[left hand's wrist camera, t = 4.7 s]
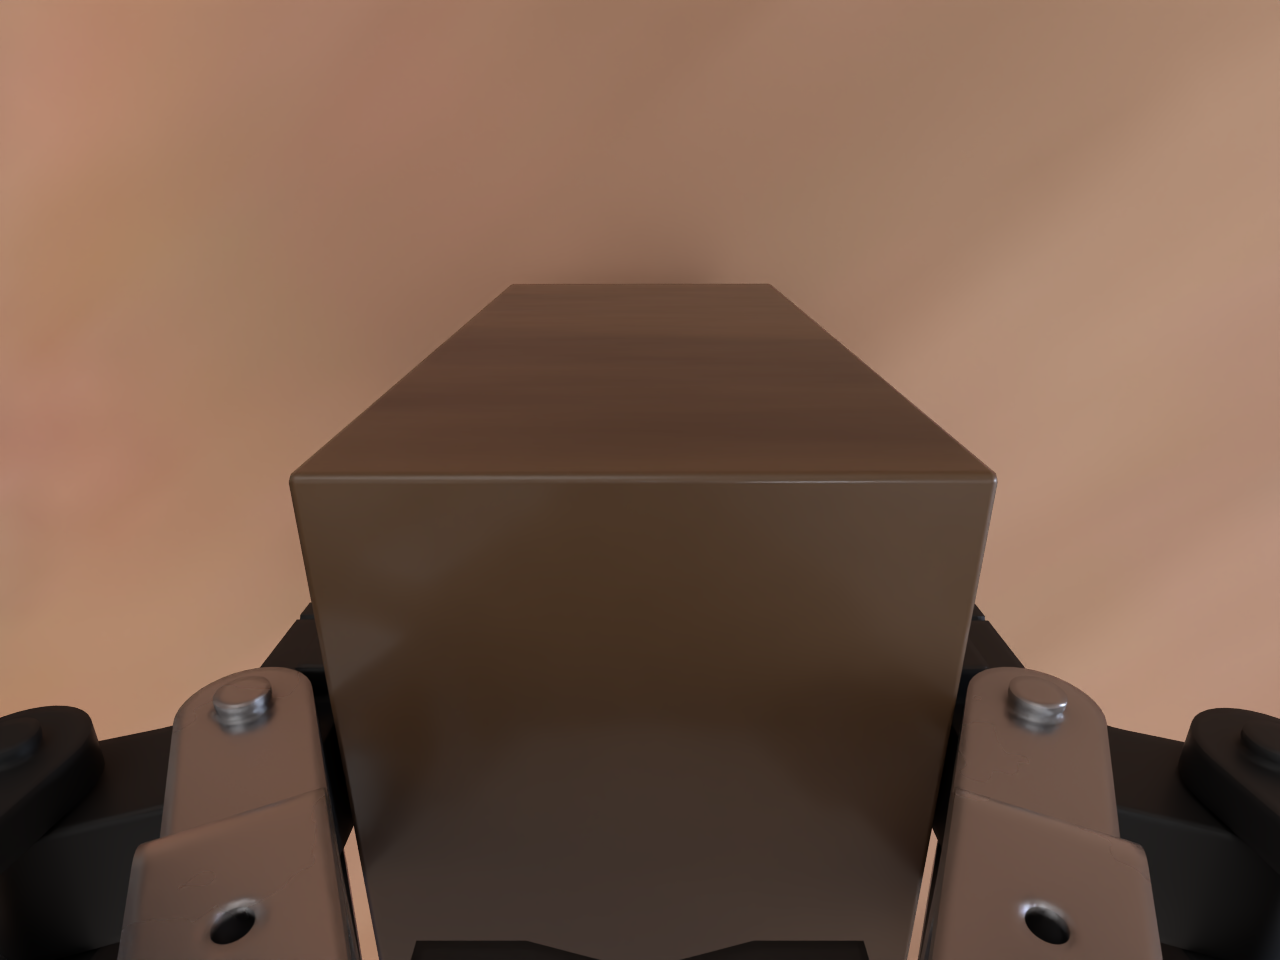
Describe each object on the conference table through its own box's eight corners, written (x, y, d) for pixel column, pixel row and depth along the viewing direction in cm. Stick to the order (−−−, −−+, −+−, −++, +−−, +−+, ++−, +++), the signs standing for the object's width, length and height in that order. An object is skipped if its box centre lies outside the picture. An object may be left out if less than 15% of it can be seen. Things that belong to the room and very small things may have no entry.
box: (509, 283, 18) (282, 475, 6) (771, 283, 18) (1003, 474, 6) (555, 988, 27) (494, 1577, 15) (728, 987, 27) (791, 1576, 15)
